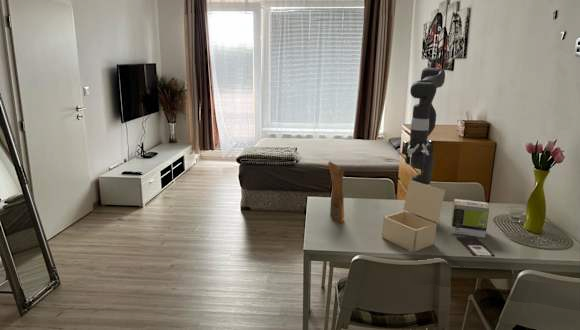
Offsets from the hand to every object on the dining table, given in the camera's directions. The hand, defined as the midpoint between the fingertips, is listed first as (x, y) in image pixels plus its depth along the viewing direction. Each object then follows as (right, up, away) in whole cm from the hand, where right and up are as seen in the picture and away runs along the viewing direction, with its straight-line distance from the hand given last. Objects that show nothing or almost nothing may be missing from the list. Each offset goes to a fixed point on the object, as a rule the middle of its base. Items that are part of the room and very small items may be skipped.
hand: (416, 163), depth 192 cm
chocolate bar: (+25, -37, -3) cm, 45 cm away
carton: (-4, -35, 0) cm, 35 cm away
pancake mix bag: (-34, -28, +25) cm, 50 cm away
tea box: (+28, -33, +12) cm, 45 cm away
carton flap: (+3, -17, 0) cm, 17 cm away
